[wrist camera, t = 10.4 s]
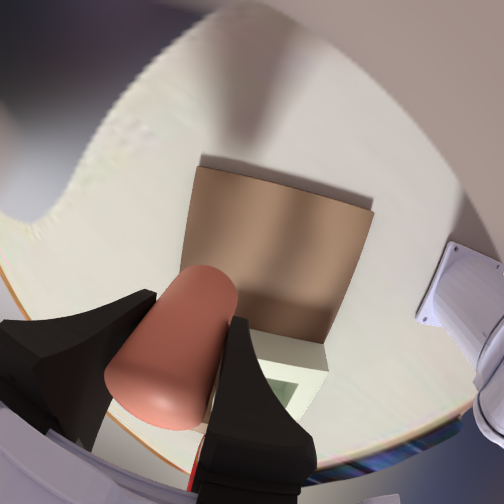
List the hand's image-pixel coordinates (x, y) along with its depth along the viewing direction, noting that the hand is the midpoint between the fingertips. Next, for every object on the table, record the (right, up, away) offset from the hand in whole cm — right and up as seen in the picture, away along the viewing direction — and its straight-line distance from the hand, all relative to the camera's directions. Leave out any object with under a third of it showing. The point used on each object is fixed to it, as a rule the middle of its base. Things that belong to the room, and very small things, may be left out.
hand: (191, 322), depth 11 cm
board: (+3, -2, +11) cm, 12 cm away
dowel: (0, +1, +2) cm, 2 cm away
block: (+4, -8, +12) cm, 15 cm away
